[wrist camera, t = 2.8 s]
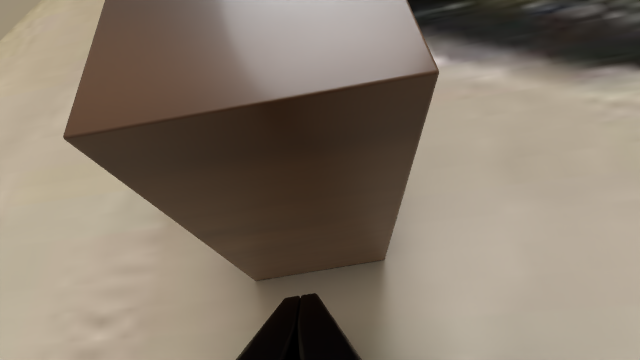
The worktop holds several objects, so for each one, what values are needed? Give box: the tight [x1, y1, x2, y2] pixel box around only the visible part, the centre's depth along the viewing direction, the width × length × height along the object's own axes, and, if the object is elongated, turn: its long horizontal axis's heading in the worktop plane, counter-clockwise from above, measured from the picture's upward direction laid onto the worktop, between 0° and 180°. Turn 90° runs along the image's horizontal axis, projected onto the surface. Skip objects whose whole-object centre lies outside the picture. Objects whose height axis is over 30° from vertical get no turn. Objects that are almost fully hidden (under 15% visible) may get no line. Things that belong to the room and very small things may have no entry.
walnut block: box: [63, 0, 439, 281], centre depth 13 cm, size 8×7×13 cm
